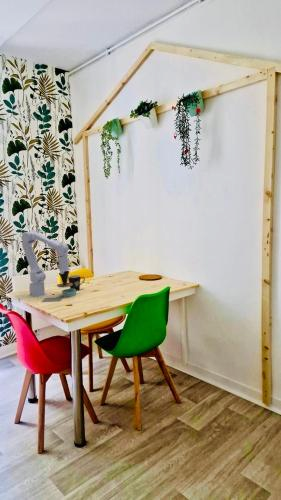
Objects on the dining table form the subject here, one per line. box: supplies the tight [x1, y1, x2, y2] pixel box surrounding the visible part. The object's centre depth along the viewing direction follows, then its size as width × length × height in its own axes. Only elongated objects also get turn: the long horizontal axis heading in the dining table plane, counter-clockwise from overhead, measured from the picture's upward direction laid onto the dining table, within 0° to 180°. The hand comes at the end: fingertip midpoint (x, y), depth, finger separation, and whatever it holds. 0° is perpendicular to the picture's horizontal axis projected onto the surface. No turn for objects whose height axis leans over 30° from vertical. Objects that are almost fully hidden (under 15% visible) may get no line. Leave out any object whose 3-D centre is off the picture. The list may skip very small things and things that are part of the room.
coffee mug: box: [68, 274, 85, 292], centre depth 240 cm, size 12×9×10 cm
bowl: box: [61, 288, 77, 298], centre depth 225 cm, size 9×9×4 cm
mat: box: [41, 296, 64, 303], centre depth 215 cm, size 12×10×1 cm
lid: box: [56, 280, 73, 288], centre depth 222 cm, size 10×10×5 cm
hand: (65, 282), depth 222 cm, fingers closed on lid, 3 cm apart
